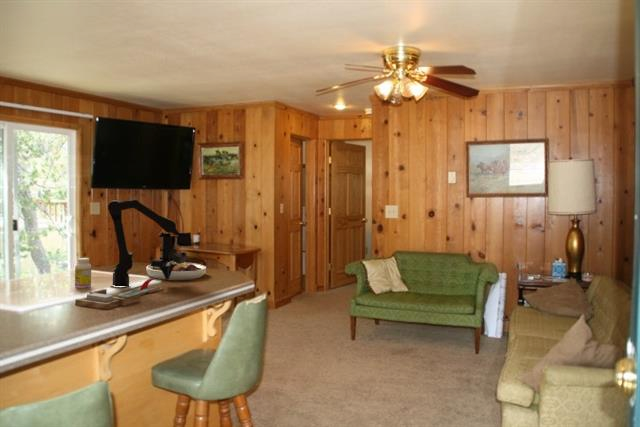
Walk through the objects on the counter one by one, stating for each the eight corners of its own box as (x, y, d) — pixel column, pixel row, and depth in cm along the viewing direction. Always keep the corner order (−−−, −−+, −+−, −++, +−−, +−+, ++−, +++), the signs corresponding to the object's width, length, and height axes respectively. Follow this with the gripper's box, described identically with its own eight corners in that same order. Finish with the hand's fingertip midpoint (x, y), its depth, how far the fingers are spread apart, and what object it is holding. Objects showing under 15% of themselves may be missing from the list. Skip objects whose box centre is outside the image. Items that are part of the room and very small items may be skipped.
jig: (72, 304, 200) (72, 296, 200) (103, 296, 216) (103, 288, 216) (110, 309, 194) (110, 301, 194) (139, 301, 211) (139, 293, 210)
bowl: (133, 275, 266) (134, 260, 266) (180, 269, 291) (180, 255, 290) (171, 284, 249) (172, 268, 249) (217, 277, 274) (218, 262, 273)
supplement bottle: (72, 286, 232) (73, 257, 232) (88, 285, 237) (88, 257, 236) (77, 289, 227) (77, 259, 227) (92, 287, 232) (93, 259, 231)
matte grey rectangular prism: (105, 307, 198) (105, 297, 198) (86, 304, 201) (87, 294, 201) (112, 305, 202) (113, 295, 202) (94, 302, 205) (94, 292, 205)
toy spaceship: (134, 307, 209) (134, 294, 208) (108, 304, 210) (108, 292, 210) (164, 289, 236) (164, 278, 235) (141, 287, 237) (140, 276, 237)
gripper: (171, 250, 231) (170, 284, 232) (194, 246, 249) (193, 278, 250) (150, 247, 235) (149, 281, 236) (174, 244, 253) (173, 275, 253)
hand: (167, 279), depth 244 cm, fingers closed
